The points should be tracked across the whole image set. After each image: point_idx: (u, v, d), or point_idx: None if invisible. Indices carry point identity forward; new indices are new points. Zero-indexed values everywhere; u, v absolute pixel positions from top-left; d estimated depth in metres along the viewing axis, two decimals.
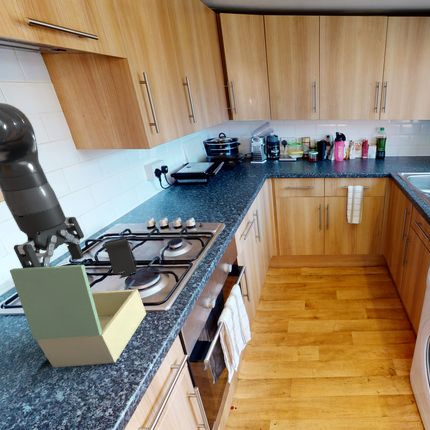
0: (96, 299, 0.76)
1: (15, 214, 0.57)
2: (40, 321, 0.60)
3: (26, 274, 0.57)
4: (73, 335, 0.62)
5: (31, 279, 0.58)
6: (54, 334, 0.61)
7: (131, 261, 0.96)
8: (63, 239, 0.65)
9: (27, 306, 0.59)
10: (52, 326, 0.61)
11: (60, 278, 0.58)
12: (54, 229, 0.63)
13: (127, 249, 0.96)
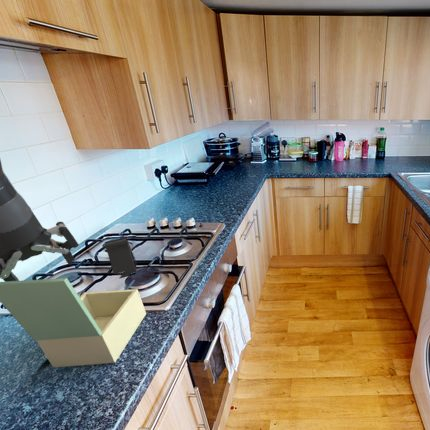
0: (96, 299, 0.76)
1: None
2: (35, 326, 0.59)
3: (6, 288, 0.53)
4: (73, 336, 0.62)
5: (13, 293, 0.54)
6: (53, 336, 0.61)
7: (131, 261, 0.96)
8: (40, 250, 0.56)
9: (17, 315, 0.57)
10: (49, 330, 0.60)
11: (44, 291, 0.55)
12: None
13: (127, 249, 0.96)
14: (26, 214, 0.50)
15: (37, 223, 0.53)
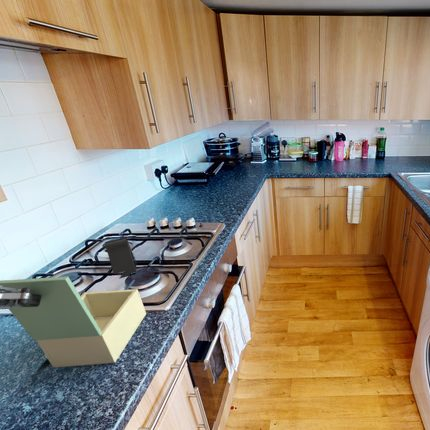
0: (96, 299, 0.76)
1: None
2: (36, 326, 0.59)
3: (8, 287, 0.54)
4: (73, 336, 0.62)
5: None
6: (53, 335, 0.61)
7: (131, 261, 0.96)
8: None
9: (18, 314, 0.57)
10: (49, 329, 0.60)
11: (46, 290, 0.55)
12: None
13: (127, 249, 0.96)
14: None
15: None
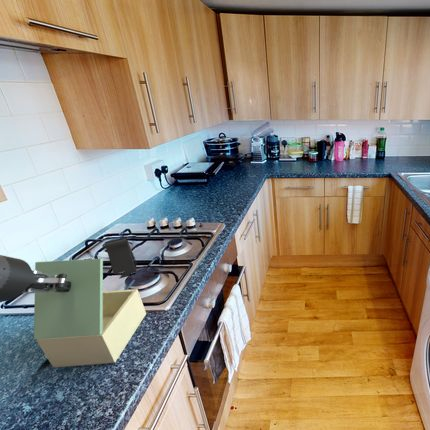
0: None
1: None
2: (46, 317, 0.62)
3: (49, 266, 0.63)
4: (74, 334, 0.62)
5: (52, 271, 0.63)
6: (55, 332, 0.62)
7: (131, 261, 0.96)
8: None
9: (39, 300, 0.62)
10: (56, 323, 0.62)
11: (78, 270, 0.63)
12: None
13: (127, 249, 0.96)
14: None
15: (16, 285, 0.48)
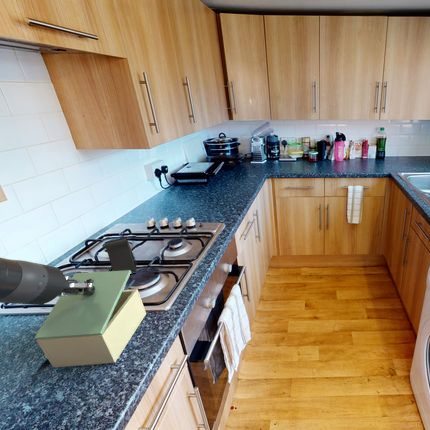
0: None
1: None
2: (58, 317, 0.65)
3: (85, 275, 0.73)
4: (75, 333, 0.62)
5: None
6: (58, 331, 0.62)
7: (131, 261, 0.96)
8: None
9: (60, 302, 0.67)
10: (64, 322, 0.64)
11: (107, 279, 0.72)
12: None
13: (127, 249, 0.96)
14: (34, 294, 0.52)
15: (53, 290, 0.55)
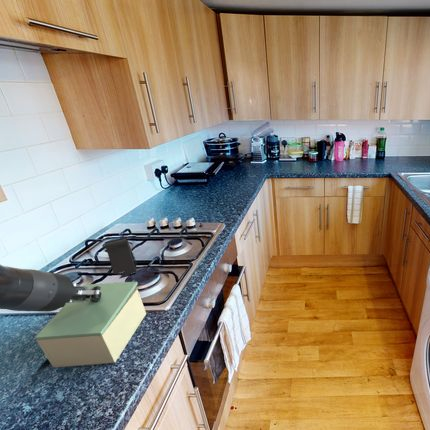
0: None
1: None
2: (61, 320, 0.66)
3: (93, 286, 0.75)
4: (75, 333, 0.62)
5: None
6: (59, 331, 0.63)
7: (131, 261, 0.96)
8: None
9: (66, 308, 0.69)
10: (66, 324, 0.65)
11: (114, 288, 0.74)
12: None
13: (127, 249, 0.96)
14: (44, 302, 0.54)
15: (62, 297, 0.57)
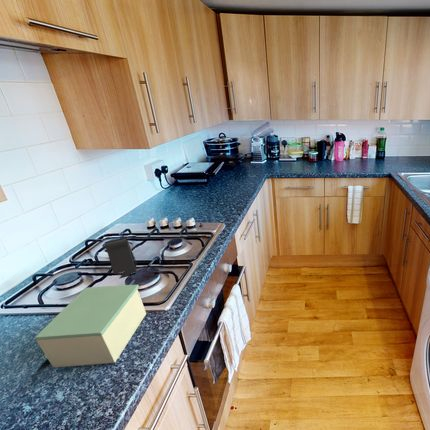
0: None
1: None
2: (62, 320, 0.66)
3: (94, 289, 0.76)
4: (76, 333, 0.62)
5: (93, 292, 0.75)
6: (60, 332, 0.63)
7: (131, 261, 0.96)
8: None
9: (67, 309, 0.69)
10: (67, 325, 0.65)
11: (115, 291, 0.75)
12: None
13: (127, 249, 0.96)
14: None
15: None
